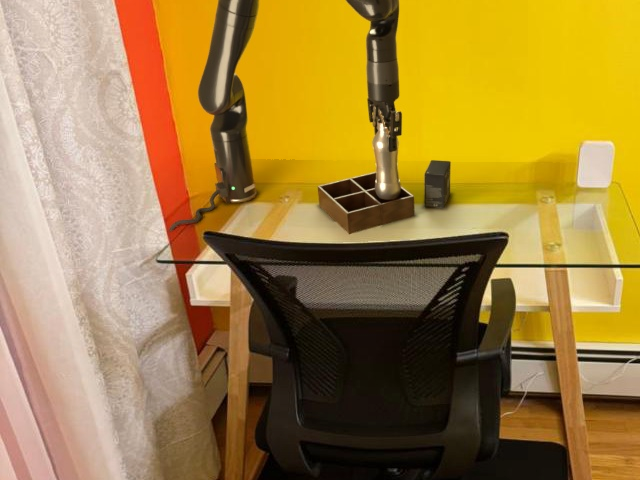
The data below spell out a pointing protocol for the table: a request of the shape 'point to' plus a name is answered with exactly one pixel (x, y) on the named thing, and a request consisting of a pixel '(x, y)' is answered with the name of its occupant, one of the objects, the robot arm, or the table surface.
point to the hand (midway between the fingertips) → (385, 146)
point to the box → (437, 184)
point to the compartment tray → (363, 203)
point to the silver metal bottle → (385, 166)
